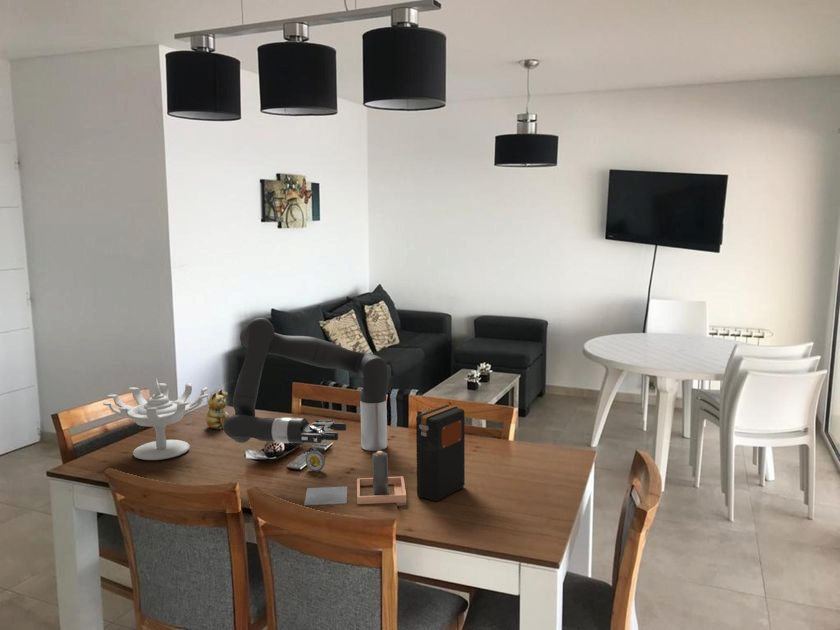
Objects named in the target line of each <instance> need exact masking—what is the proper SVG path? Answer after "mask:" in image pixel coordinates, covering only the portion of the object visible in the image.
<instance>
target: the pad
mask: <svg viewBox="0 0 840 630" xmlns="http://www.w3.org/2000/svg"><path fill="white" fill-rule="evenodd" d="M347 503H348V486H331V487H330V486H328V487H327V486H326V487H325V486H323V487H309V488H308V487H307V488H306V493H305V499H304V504H303V506H316V505H317V506H318V505H335V504H337V505H338V504H347Z"/></svg>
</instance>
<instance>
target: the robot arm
mask: <svg viewBox="0 0 840 630" xmlns="http://www.w3.org/2000/svg"><path fill="white" fill-rule="evenodd" d="M239 340H240V342H241V344H242V345H243V346H244V347H245V348H246V353H245V358H244V361H243V364H242V367H241V370H240V372H239V374H238V377H237V381H236V385H235V387H234V391H233V392H234V394H233V397H232V407H233V409H234V414H232V415H230V416H229V418H227V419H226V421H225V422H224V425H223V429H222V430H223V432H224V433H225V435H226V436H228V437H229V438H230V439H232V440H234V441H235V442H237V443H241V444H244V443H246V442H248V441H249V440H250V439H256V440H258V441H260V442H274V443H275V442H278V443H283V444H284V443H285V444H287V443H288V444H305V443H308V444H309V443H310V444H321V443H322V442H325V441H338V440H339V432H337V431H341V432H345V431H346V430H347V423H345V422H335V420H334V419H314V422H312V423H309V421H308V418H306V417H284V416H283V417H257V416H256V405H257V404H256V403H257V399H258V394H259V388H260V384H261V378H262V375H263V374H262V373H263V370H264V365H265V361H266V358H267V355H268V354H269V355H275V356H279V357H282V358H287V359H290V360H293V361H296V362H300V363H303V364H307V365H309V366H310V365H311V366H314V367H318V368H323V369H335V370H337V369H338V370H343V371H346V372H349V373H352V374H353V375H354V374H355V375H357V376H359V377H361V378H362V379H363V381H362V386H363V388H362V391H361V392H360V394H359V398H360V399H359V401H360V438H361V439H360V440H361V443H360V444H361V446H360V447H361V448H362V449H363V450H365V451H372V452H374V451H376V452H377V451H382V450H385V449H386V448H388V417H387V416H388V410H387V395H388V392H389V367H388V364H387V361H386V360H385V359H383V358H382V357H380V356H378V355H376V354H374V353H368V352H361V351H356V350H352V349H347V348H346V347H345V348H344V347H343V346H342V345H341V346H340V345H339V344H336V343H334V342H330V341H327V340H324V339H322V338H321V339H320V338H318V337H313V336H307V335H306V336H305V335H285V334H280V333H277V332H275V328H274V325H273V323H272V322H271V321H270V320H269V319H267V318H264V317H258V318H254V319H252V320H251V321H250V322H248V323H247V325H245V326H244V328H243V329H242V330H241V332H240V335H239ZM335 431H336V432H335Z"/></svg>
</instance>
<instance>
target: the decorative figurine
mask: <svg viewBox="0 0 840 630" xmlns="http://www.w3.org/2000/svg"><path fill="white" fill-rule="evenodd" d="M228 395H229V394H228V392H227V391H223V389H218V390H217V391H216V392H213V393H212V394H211V395H210V396H209V397H208V400H207V405H208V409H207V412H206V415H205V422H206V424H207V426H208V427H209V428H210V429H213V428H214V429H216V430H219V429H220V430H223V429H222V428H223V425H224V422H225V421H226V419H227V418H229V417H230V416H229V415H230V414H229V413H228V412H227V411H225V410H224V409H225V408H226V406H227V400H226V397H227V396H228Z"/></svg>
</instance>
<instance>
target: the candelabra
mask: <svg viewBox="0 0 840 630" xmlns="http://www.w3.org/2000/svg"><path fill="white" fill-rule="evenodd" d="M184 387H185V389H184V392H183V393H182V395H181V396H180V397H178V398H177V399H176V400H170V398H169V386H168V384H166V383H163V382H160V383H159V381H158V378H157V377H156V381H155V389H154V390H155V391H154V394H153V395H151V396H150V397H149V398H148V399H147V400H146V399H145V397H144V396H143V394H142V392H141V388H140V387H134V386H132V387H129V388H127V390H128V391H130V392H132V396H133V399H134V401H135V402H136V404H137V406H133V405H132V406H131V405H129V404H126V403H124V402H123V401H122V400H120V398H119V395H118V394H114V393H113V394H108V395H107V396H106V397H107V398H108V399H113V403H114V404H115V406H118V409H117V408H114V407H113V406H112V403H111V401H105V402H103V403H102V405H103V406H108V407H109V410H110V411H111V412H112V413H114V414H117V415H120V416H122V417H125V418H127V419H129V420H130V419H131V420H133V421H134V422H135V424H137V425H138V426H140V427H149V428H151V427H153V428H154V430H155V441H150V442H147V443H144V444H142V445H139V446H138V447H136V448H135V449H134V450H133V452H132V455H133V457H134V458H136V459H140V460H144V461H159V460H161V461H162V460H166V459H167V460H168V459H172V458H175V457H179V456H181V455H183V454H185V453H187V452H188V451H189V450H190V447H191V445H190V444H189V443H188V442H187V441H184V440H180V439H167V436H166V427H167V426H168V425H169V426H170V425H173V424H175V423H177V422H180V421H181V420H183V418H184V415H185V414H187V413H188V412H191V411H193V410H194V409H196V408H198V407H199V406H200V405H201V404H202V403H203V399H204V398H207V397H208V396H209V393H205V392H207V391H208V389H209V386H204V387H203V388H201V389H200V394H199V395H198V396H197V397H196V398H195V399H192V400H191V401H187V400H188V398H189V397H190V396H191V395H192V391H193V389H192V387H193V383H190V382H187V383H185V385H184Z"/></svg>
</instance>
